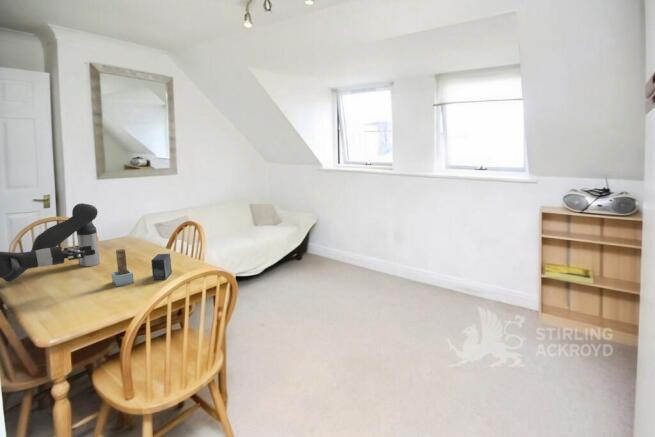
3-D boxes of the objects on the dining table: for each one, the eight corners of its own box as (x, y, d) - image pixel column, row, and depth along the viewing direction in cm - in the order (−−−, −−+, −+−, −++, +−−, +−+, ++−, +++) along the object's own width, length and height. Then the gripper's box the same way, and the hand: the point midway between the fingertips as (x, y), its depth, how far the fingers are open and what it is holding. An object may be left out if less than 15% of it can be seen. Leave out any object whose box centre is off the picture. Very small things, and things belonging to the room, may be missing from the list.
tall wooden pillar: (120, 282, 189) (117, 251, 186) (119, 280, 191) (115, 250, 188) (128, 280, 191) (125, 250, 188) (126, 278, 193) (123, 248, 190)
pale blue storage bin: (116, 286, 186) (115, 276, 185) (112, 282, 192) (111, 272, 191) (133, 283, 191) (132, 273, 190) (129, 278, 197) (128, 269, 196)
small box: (159, 273, 205) (157, 253, 203) (172, 272, 206) (170, 253, 204) (152, 280, 195) (150, 259, 193) (166, 280, 196) (164, 259, 194)
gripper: (49, 261, 177) (91, 254, 187) (53, 269, 167) (97, 261, 177) (46, 244, 176) (89, 238, 186) (50, 251, 165) (95, 244, 175)
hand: (93, 249), depth 181 cm, fingers open, 8 cm apart
